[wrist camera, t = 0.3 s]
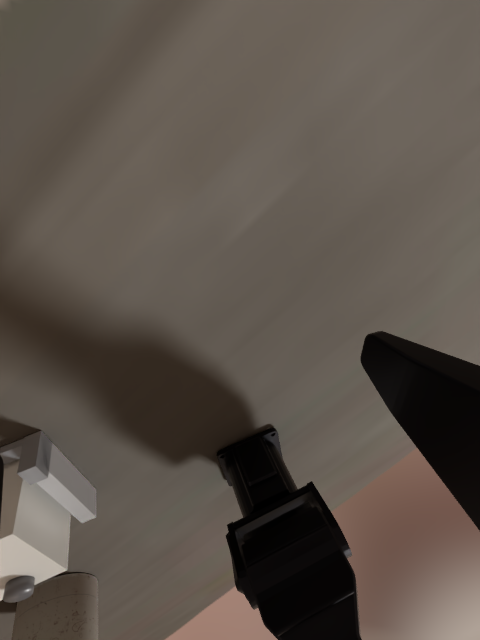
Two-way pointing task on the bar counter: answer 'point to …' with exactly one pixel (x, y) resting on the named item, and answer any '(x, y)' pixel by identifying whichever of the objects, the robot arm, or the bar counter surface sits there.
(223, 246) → the bar counter surface
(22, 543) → the cream knobbed cube
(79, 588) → the thermos bottle
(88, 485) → the dock
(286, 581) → the robot arm
